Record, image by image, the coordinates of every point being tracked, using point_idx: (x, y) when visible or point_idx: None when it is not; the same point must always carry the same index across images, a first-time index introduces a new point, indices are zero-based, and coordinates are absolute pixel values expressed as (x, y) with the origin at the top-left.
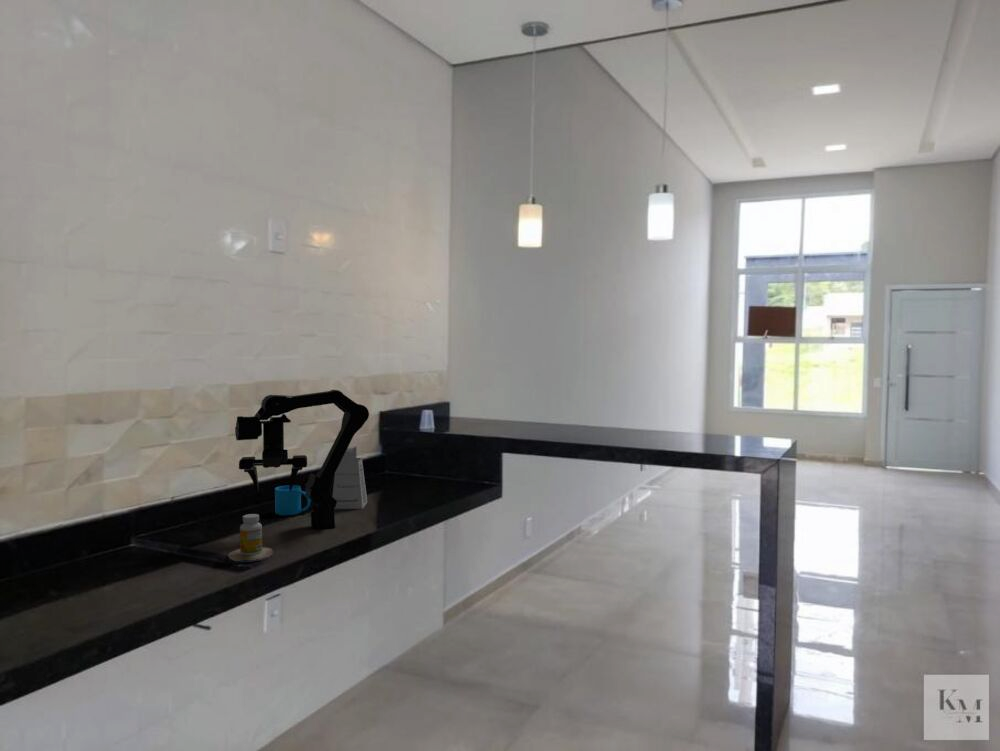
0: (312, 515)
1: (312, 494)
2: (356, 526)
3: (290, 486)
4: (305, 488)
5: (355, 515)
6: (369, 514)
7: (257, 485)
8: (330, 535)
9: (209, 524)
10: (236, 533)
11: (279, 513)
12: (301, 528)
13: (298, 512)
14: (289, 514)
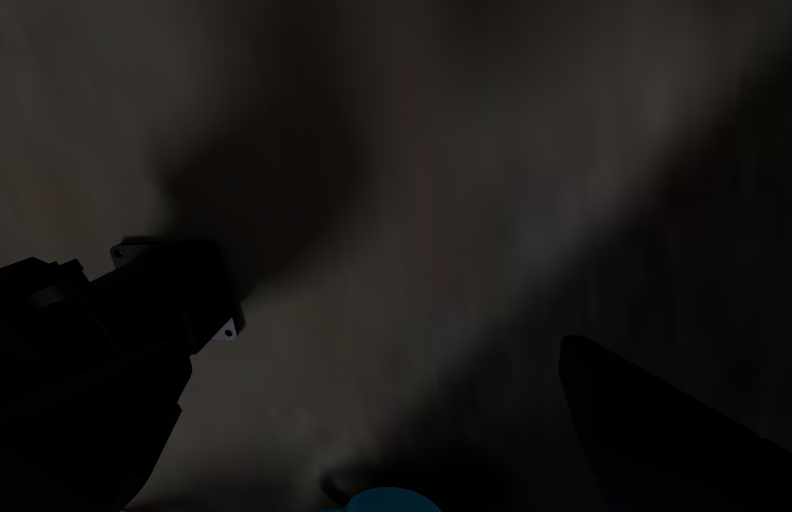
0: (187, 297)
1: (6, 315)
2: None
3: (122, 364)
4: (130, 488)
5: None
6: None
7: (613, 388)
8: (86, 99)
9: (744, 417)
10: (609, 225)
11: (423, 502)
12: (279, 269)
13: (348, 505)
14: (381, 489)
